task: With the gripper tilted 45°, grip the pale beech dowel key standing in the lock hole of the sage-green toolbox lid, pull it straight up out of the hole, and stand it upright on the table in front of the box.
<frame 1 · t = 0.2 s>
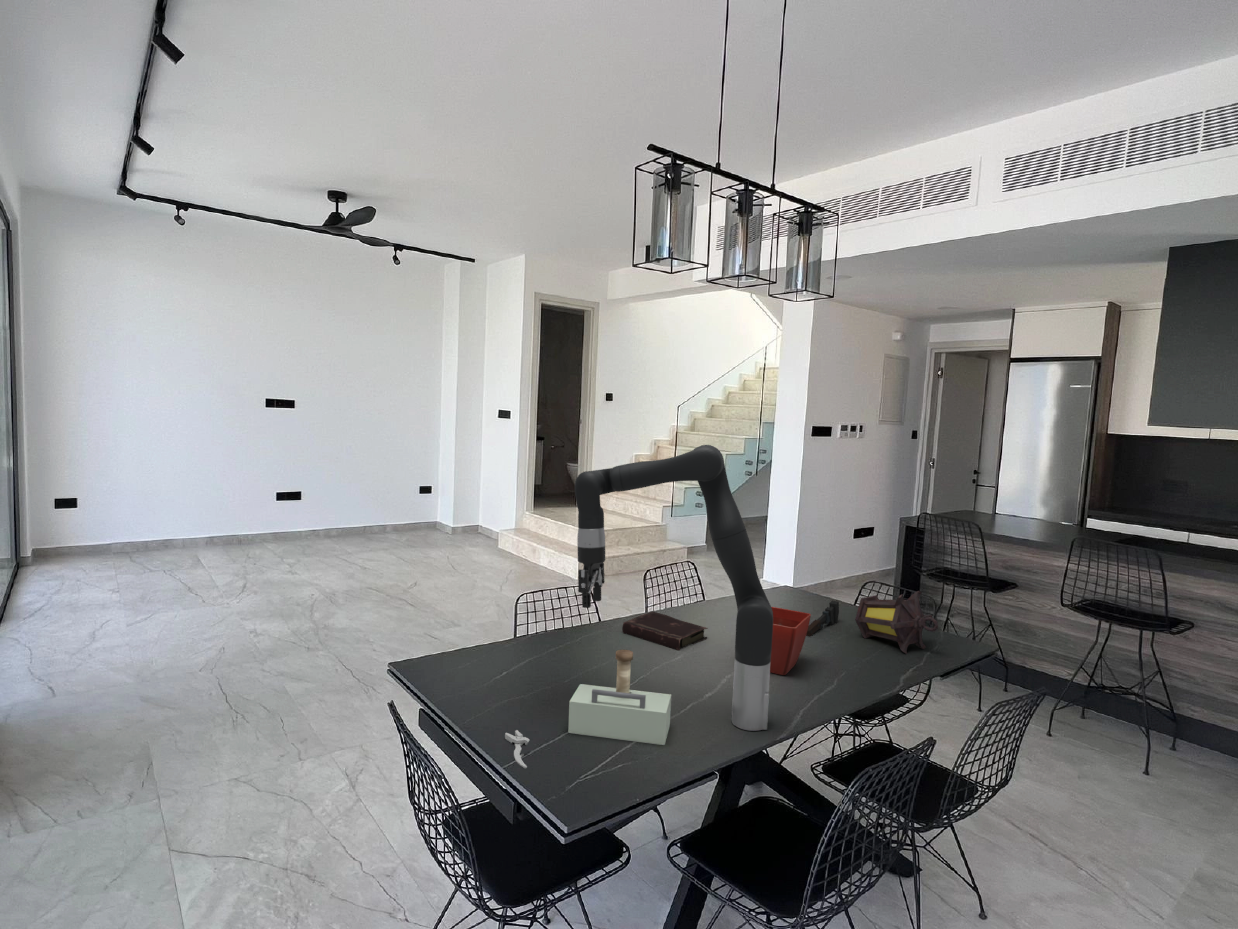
hand: (592, 604, 188), 28 cm above the table, tool pointing down, fingers open, 8 cm apart
plant pot: (771, 666, 224), on the table
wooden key: (621, 725, 176), point 1 cm above the table, touching toolbox
diary: (664, 637, 249), on the table
pliers: (526, 751, 164), on the table
lantern: (896, 645, 249), on the table
toolbox: (619, 732, 174), on the table
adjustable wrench: (821, 630, 264), on the table
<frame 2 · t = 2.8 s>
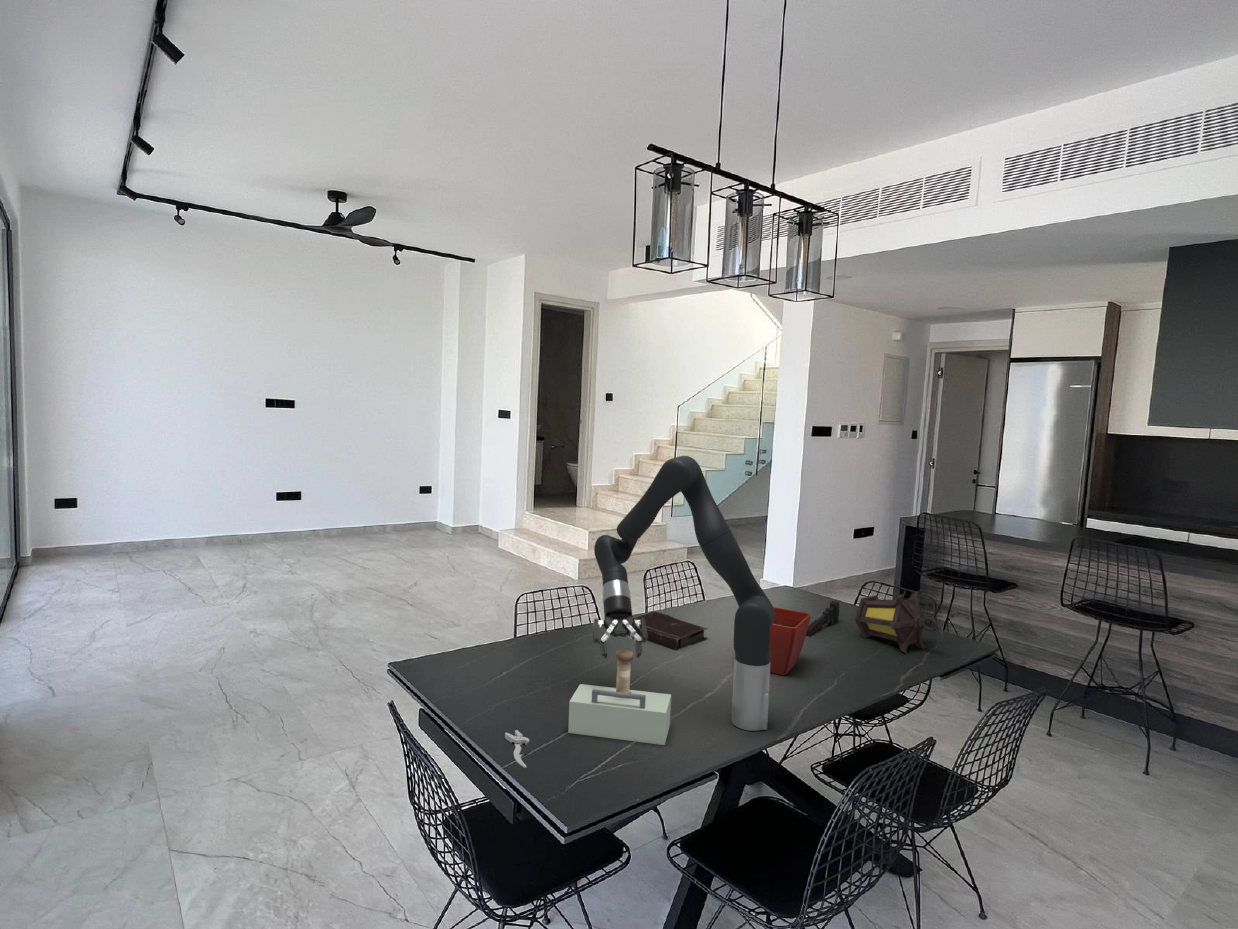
hand: (622, 657, 178), 18 cm above the table, tool tilted 45°, fingers open, 8 cm apart
nothing on the table moved.
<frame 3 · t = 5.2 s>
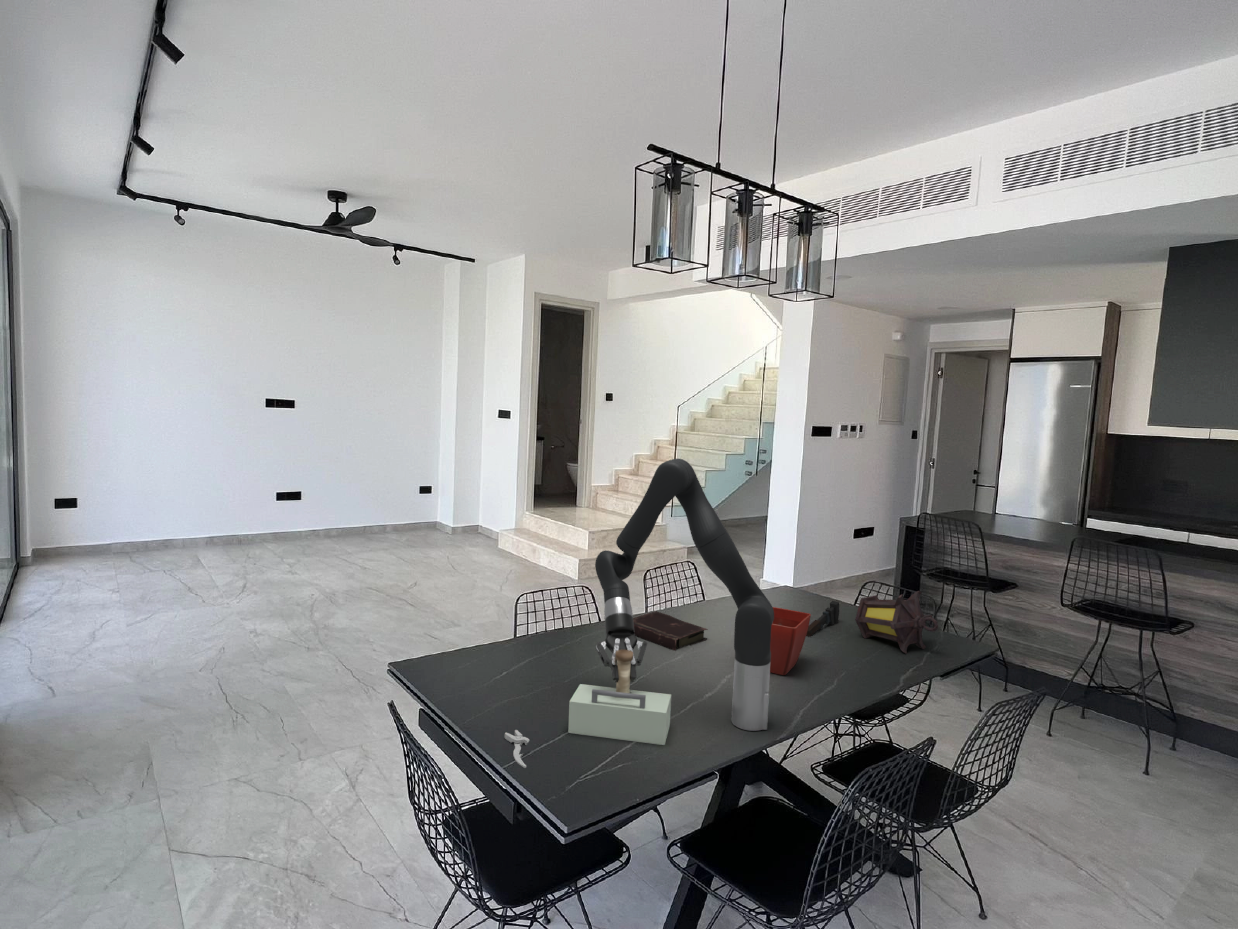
hand: (624, 680, 173), 13 cm above the table, tool tilted 45°, fingers closed on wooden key, 3 cm apart
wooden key: (621, 725, 176), point 1 cm above the table, touching gripper, toolbox
everything else where it was.
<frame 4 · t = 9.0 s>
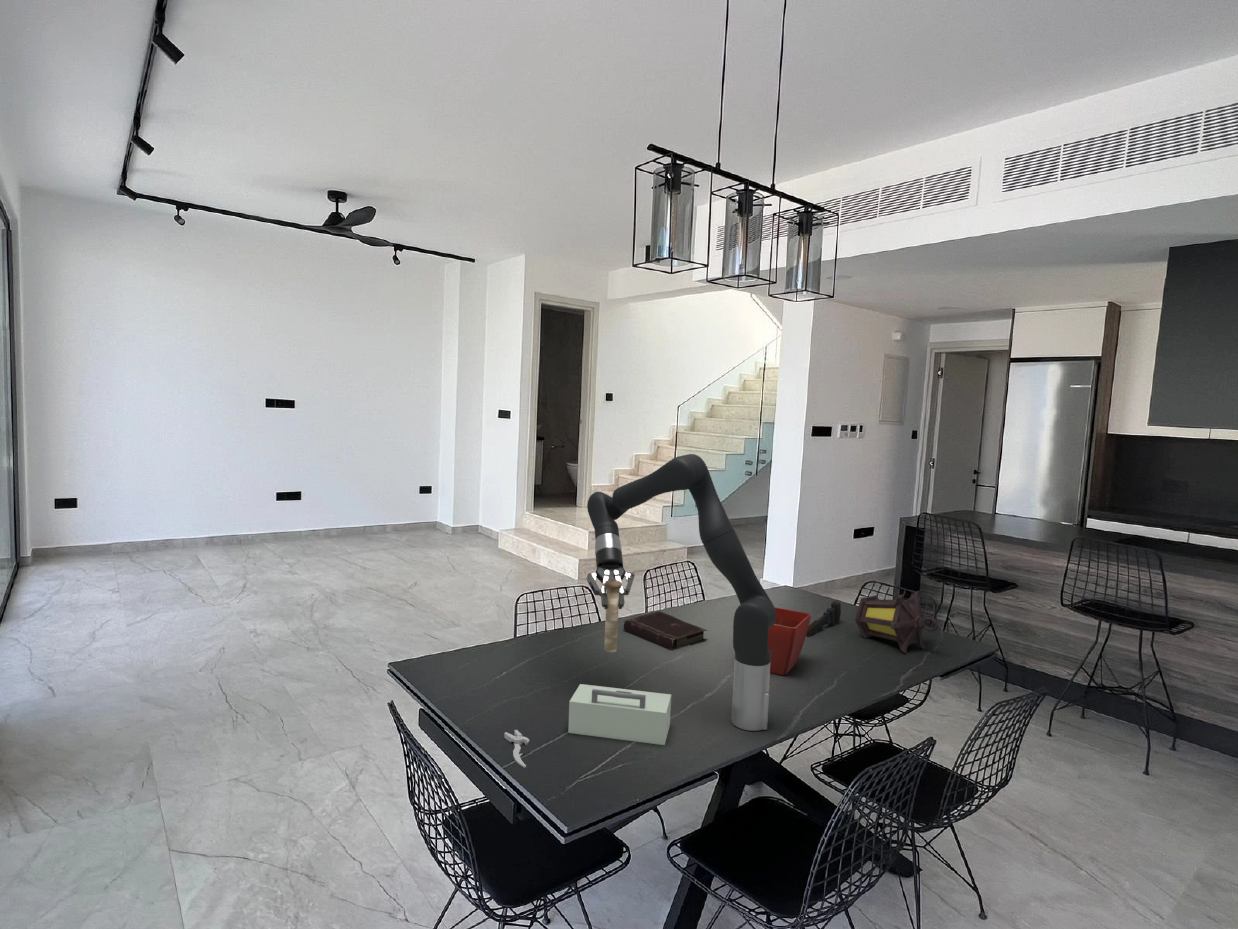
hand: (613, 607, 186), 28 cm above the table, tool tilted 45°, fingers closed on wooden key, 3 cm apart
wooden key: (610, 650, 189), point 15 cm above the table, touching gripper
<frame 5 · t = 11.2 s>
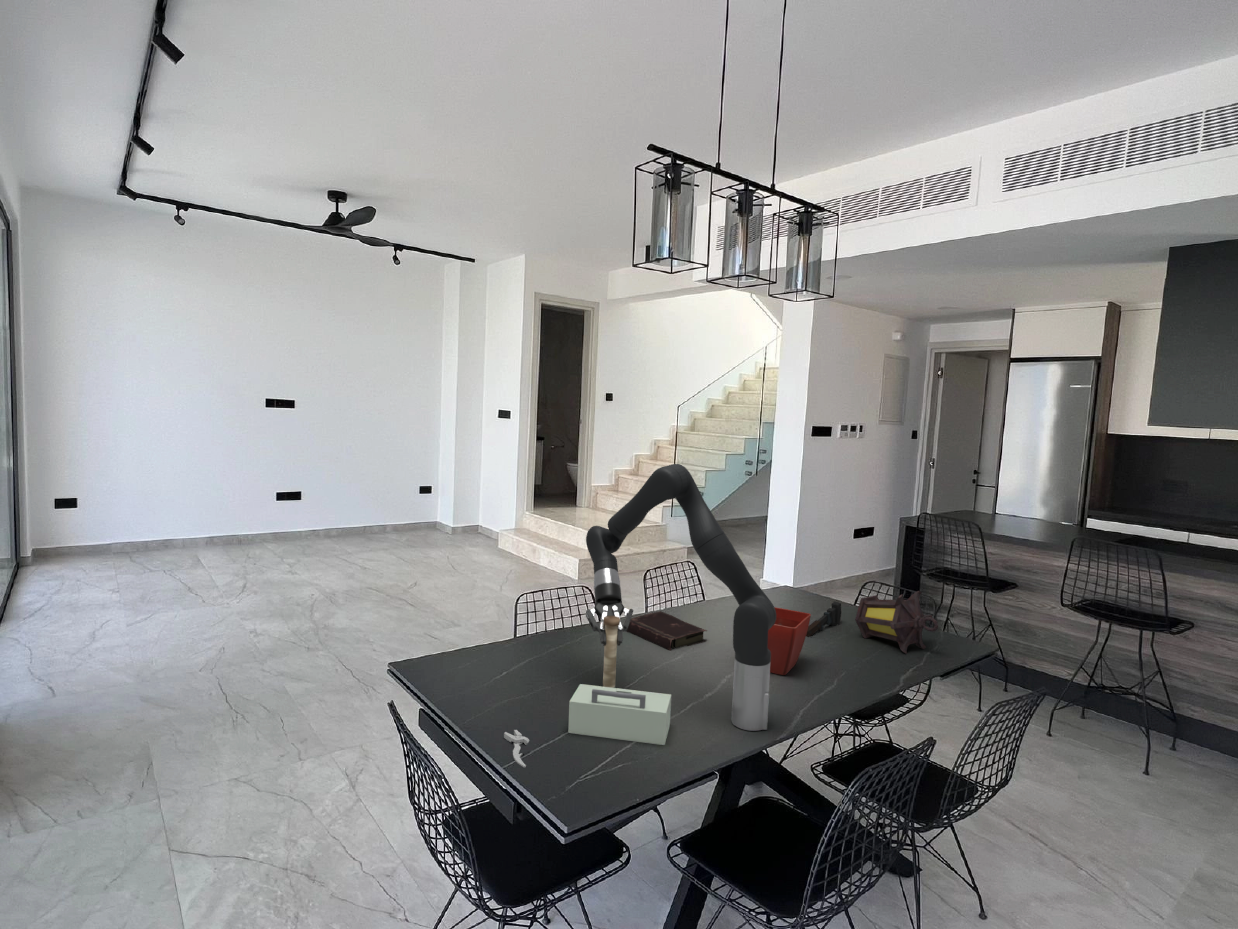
hand: (612, 644, 187), 18 cm above the table, tool tilted 45°, fingers closed on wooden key, 3 cm apart
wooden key: (608, 685, 190), point 5 cm above the table, touching gripper
when the fingers open (13 cm above the table, at t = 13.1 s): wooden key stays where it is, on the table.
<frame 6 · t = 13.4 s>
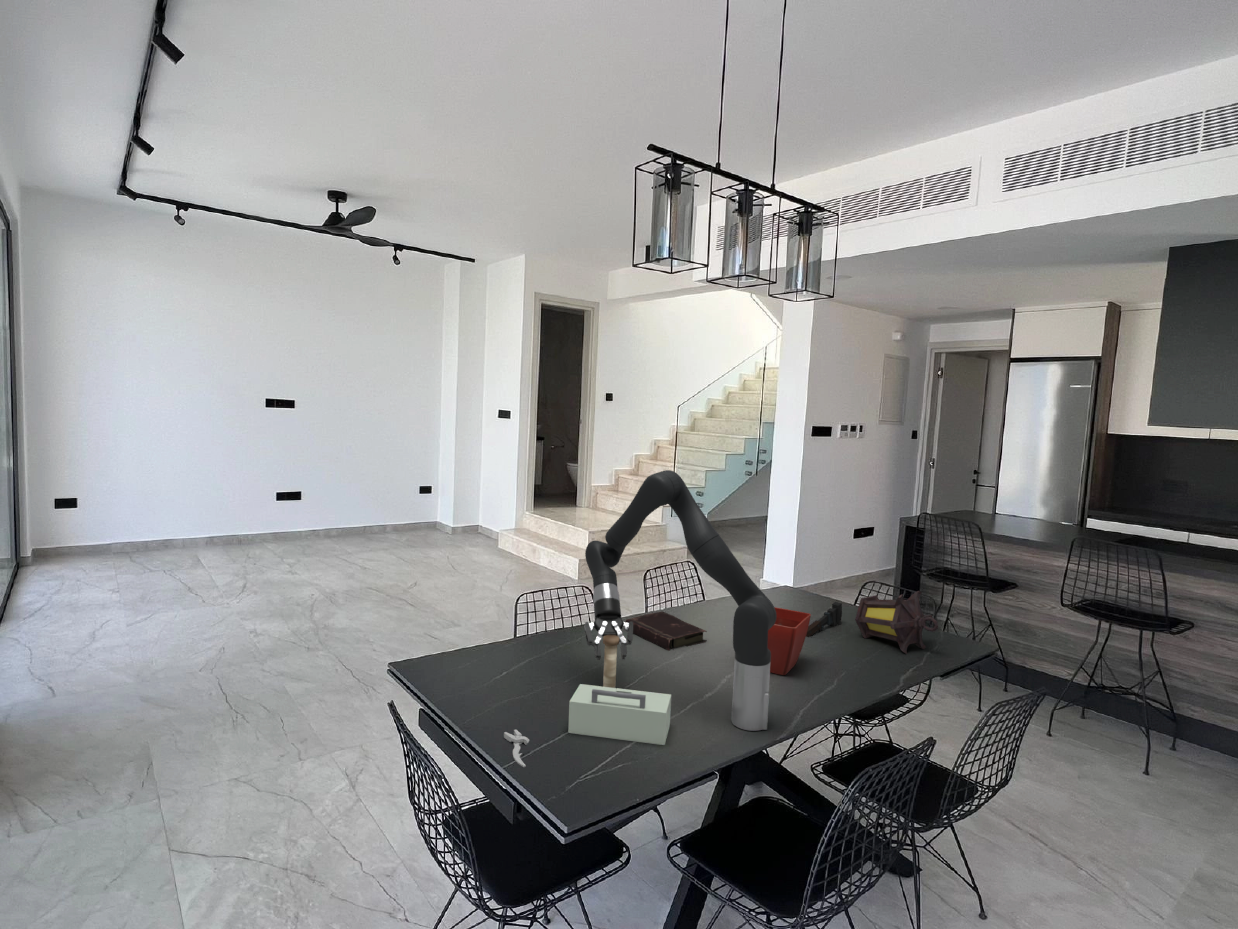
hand: (611, 658, 187), 14 cm above the table, tool tilted 45°, fingers open, 6 cm apart
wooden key: (608, 704, 190), on the table
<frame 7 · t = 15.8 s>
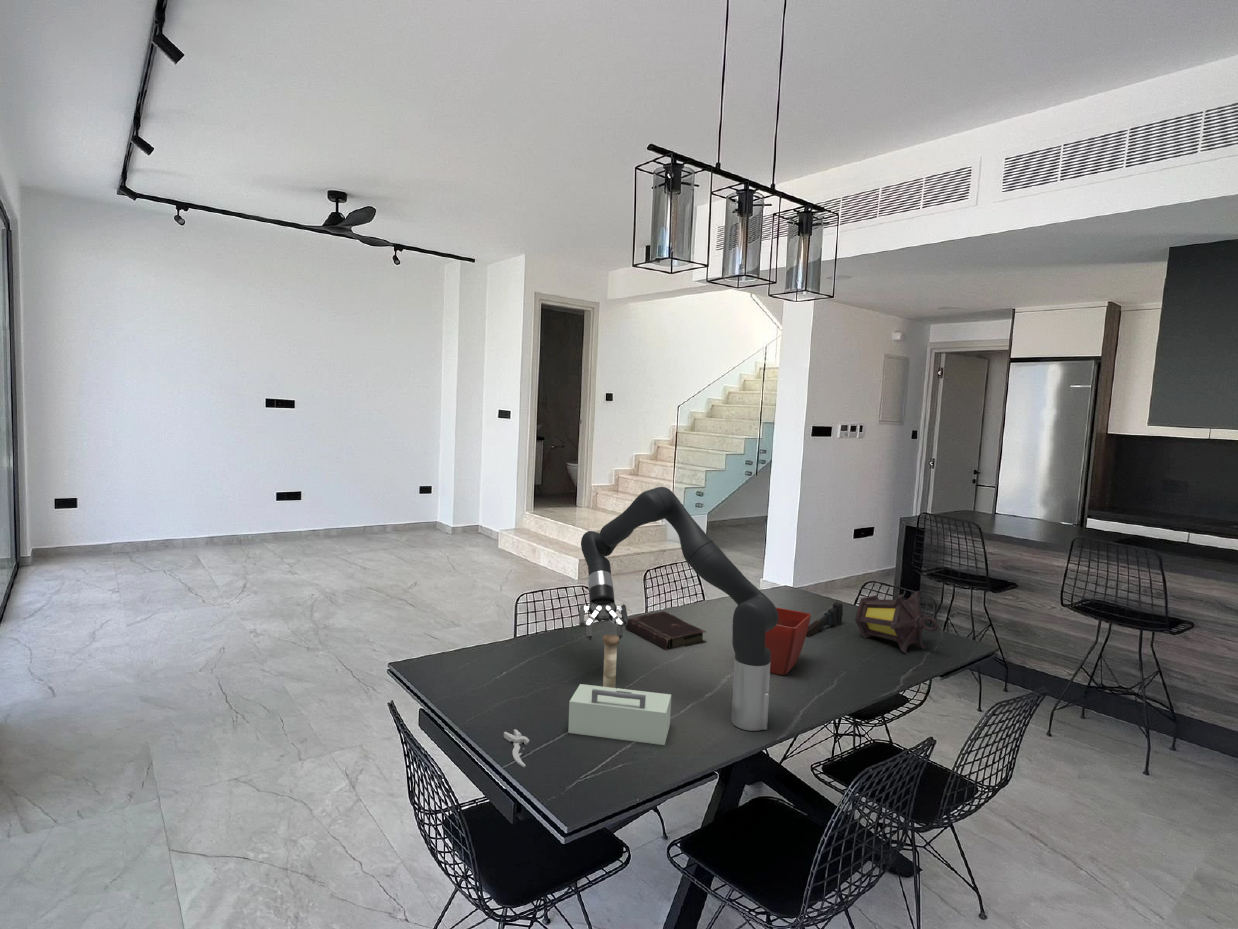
hand: (605, 638, 200), 15 cm above the table, tool tilted 45°, fingers open, 8 cm apart
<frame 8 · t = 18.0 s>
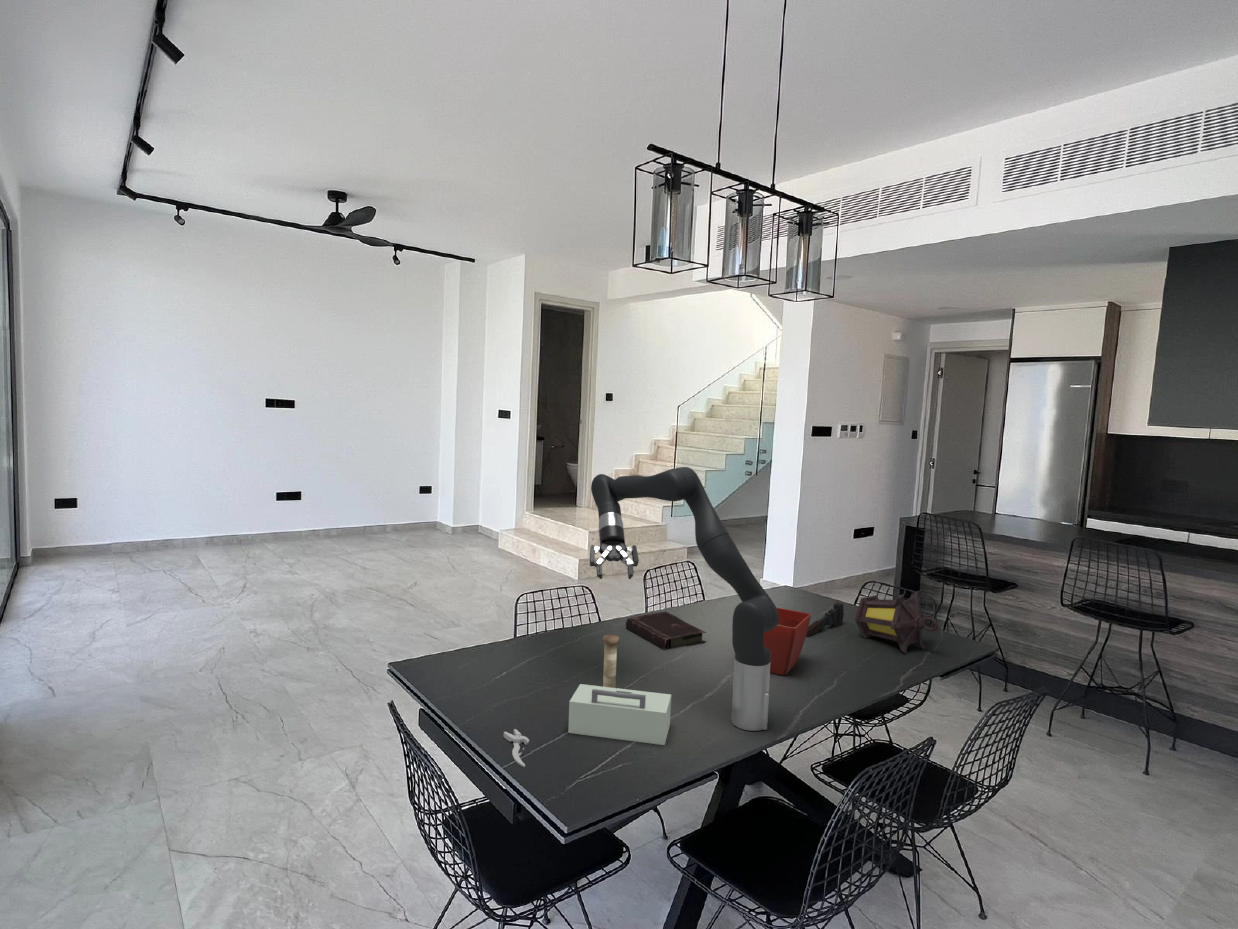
hand: (615, 577, 199), 33 cm above the table, tool tilted 45°, fingers open, 8 cm apart
at the end: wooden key inside the target area (0.1 cm from its centre), on the table; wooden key tilted 0°; the gripper is holding nothing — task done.
